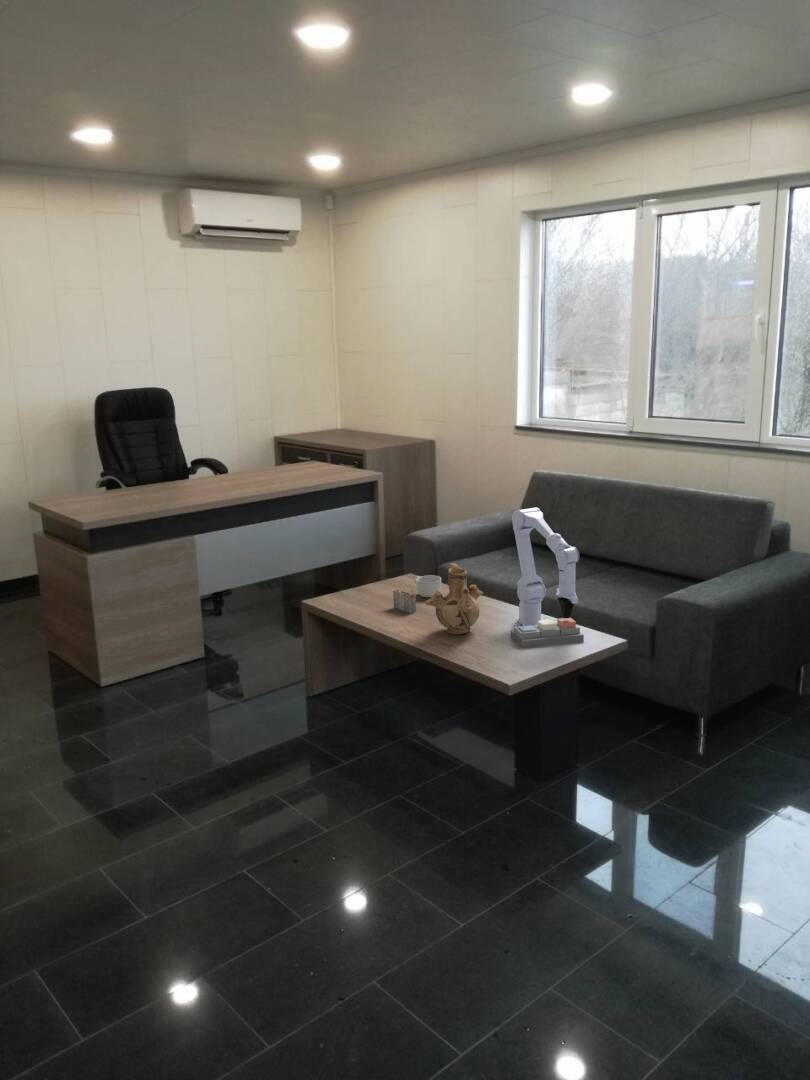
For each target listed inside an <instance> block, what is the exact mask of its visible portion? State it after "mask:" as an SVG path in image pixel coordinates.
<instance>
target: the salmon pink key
mask: <svg viewBox="0 0 810 1080" xmlns="http://www.w3.org/2000/svg"><path fill="white" fill-rule="evenodd" d="M556 623H557V625H558V626H559V627H561V628H562V629H563V628H573V627H576V625H577V621H575V620H574V618H572V617H570V618H563V617H562V618H557V619H556Z"/></svg>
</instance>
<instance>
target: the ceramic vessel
mask: <svg viewBox="0 0 810 1080" xmlns="http://www.w3.org/2000/svg"><path fill="white" fill-rule="evenodd" d="M447 577H448V578H447V580H448V583H447V584H448V590H449V591H448V593H447V594H446V595H445V596H443V594H442V593H441V592H438V591H436V592H435V594H434V595H433V596H432V597H431V598H428V599H427V600H426V601H425V602H424V605H426V606H431V607H435V617H436V618H437V620H438V621H439V624H440V625H442V627H445V628H447V629H446V632H447V633H448V634H450V635H462V634H463V635H464V634H466V633H469V632H470V631H471V627H473V625H475V623H476V622H477V620H478V619H479V617H480V613H481V612H480V610H481V609H480V605H479V602H478V598H479V597H481V596H482V595H484V592H483V591H482V590H481V589H479V588H478V587H477V584H470V585H469V587H468V583H467V579H468V571H467V569H466V568H463V567H460V566H458V564H457V563H453V562H452V563H450V564H449V566H448V569H447Z"/></svg>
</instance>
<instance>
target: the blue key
mask: <svg viewBox="0 0 810 1080" xmlns="http://www.w3.org/2000/svg"><path fill="white" fill-rule="evenodd" d="M517 627H518V629H519V630H520V631H521V632H532V631H536V629H535V628H534V627H533V626H531V625H529V626H523V625H520V626H517Z"/></svg>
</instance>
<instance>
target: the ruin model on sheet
mask: <svg viewBox="0 0 810 1080" xmlns="http://www.w3.org/2000/svg"><path fill="white" fill-rule="evenodd" d="M392 592H393V608H394V607H395V608H394V609H396V608H398V609H397V610H399V609H400V610H399V611H402V610H403V611H402V612H405V611H406V612H405V613H407V612H409V613H408V614H410V613H412V614H415V613H414V612H416V613H417V595H416V594H415V593H416V592H417V589H413V588H412V589H411V590H410V593H409V592H407V591H404V590H400V589H395V590H393V591H392Z"/></svg>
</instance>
